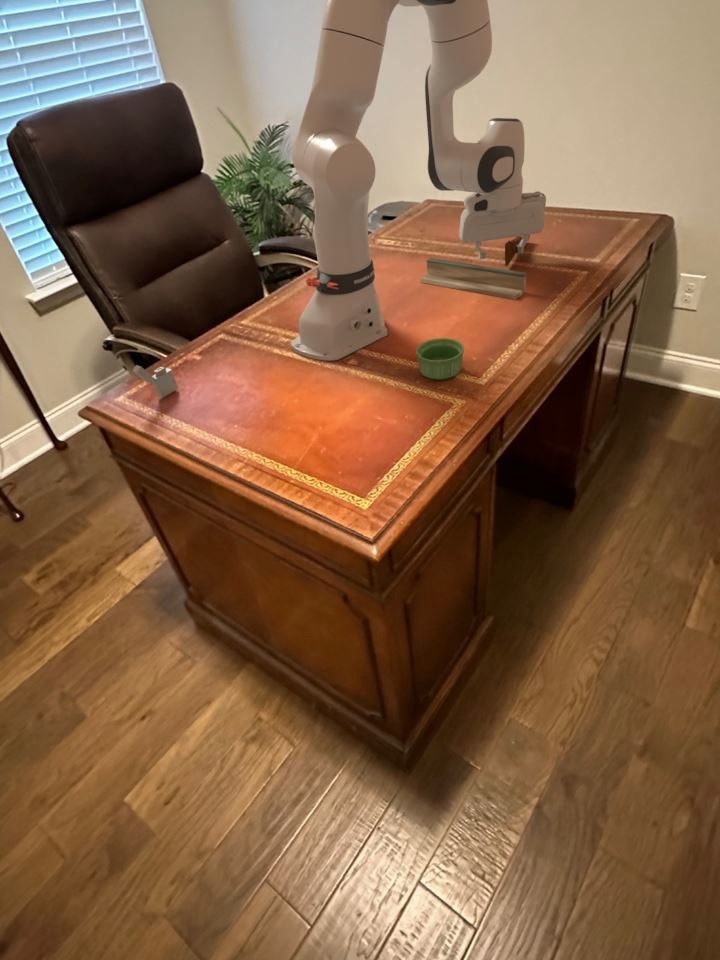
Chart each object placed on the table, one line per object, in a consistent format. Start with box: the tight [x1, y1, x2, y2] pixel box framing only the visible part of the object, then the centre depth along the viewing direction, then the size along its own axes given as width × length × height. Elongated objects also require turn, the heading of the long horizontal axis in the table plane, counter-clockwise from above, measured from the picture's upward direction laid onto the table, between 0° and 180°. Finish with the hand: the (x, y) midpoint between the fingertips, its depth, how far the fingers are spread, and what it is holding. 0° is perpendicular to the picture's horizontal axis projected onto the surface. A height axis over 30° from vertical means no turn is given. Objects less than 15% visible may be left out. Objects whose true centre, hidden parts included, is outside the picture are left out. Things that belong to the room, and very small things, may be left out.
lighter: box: [132, 364, 179, 398], centre depth 115 cm, size 7×2×8 cm, turn 143°
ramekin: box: [415, 337, 465, 380], centre depth 111 cm, size 9×9×4 cm
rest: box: [420, 257, 527, 301], centre depth 139 cm, size 4×26×4 cm, turn 51°
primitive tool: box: [504, 234, 531, 267], centre depth 149 cm, size 19×6×4 cm
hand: (500, 255), depth 146 cm, fingers open, 8 cm apart
